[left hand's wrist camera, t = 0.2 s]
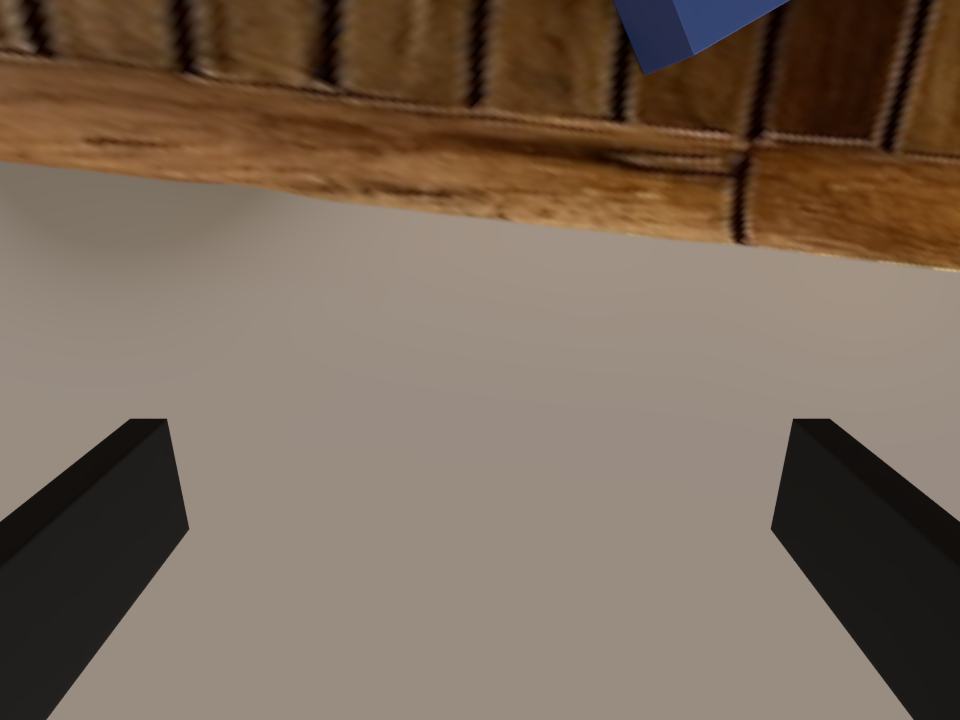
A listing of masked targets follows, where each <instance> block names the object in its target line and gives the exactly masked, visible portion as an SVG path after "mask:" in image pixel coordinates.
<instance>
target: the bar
mask: <svg viewBox="0 0 960 720" xmlns="http://www.w3.org/2000/svg"><path fill="white" fill-rule="evenodd" d="M613 1H614V3H615V6H616V8H617V11H618V13H619V15H620V18H621V20H622V23H623V25H624V27H625V30H626V32H627V35H628V37H629V39H630V42H631V44H632V47H633V49H634V51H635V54H636V56H637V59H638V61H639V63H640V66H641V68H642V71H643V73H644V75H648V74H650V73H653V72H655V71H657V70H660V69H662V68H665V67H667V66H670V65H672V64H674V63H677V62H679V61H682V60H684V59H687V58H689V57H691V56H694V55H696V54H698V53H699V52H701V51H703V50H705V49H706V48H708V47H710V46H711V45H713V44H715V43H717V42H718V41H720V40H722V39H724V38H725V37H727V36H729V35H730V34H732V33H734V32H736V31H737V30H739V29H741V28H743V27H744V26H746V25H748V24H749V23H751V22H753V21H755V20H756V19H758V18H760V17H761V16H763V15H765V14H767V13H768V12H770V11H772V10H774V9H775V8H777V7H779V6H780V5H782V4H784V3H786V2H787V1H789V0H613Z"/></svg>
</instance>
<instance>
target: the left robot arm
mask: <svg viewBox="0 0 960 720" xmlns="http://www.w3.org/2000/svg"><path fill="white" fill-rule="evenodd" d="M188 530H189V526H188V521H187V516H186V511H185V506H184V501H183V496H182V491H181V486H180V481H179V476H178V471H177V466H176V461H175V456H174V451H173V446H172V441H171V437H170V432H169V427H168V422H167V419H129V420H128V421H127V422H126V423H124V424H123V425H122V426H121V427H119V428H118V429H117V430H116V431H114V432H113V433H112V434H110V435H109V436H108V437H107V438H105V439H104V440H103V441H102V442H100V443H99V444H98V445H97V446H95V447H94V448H93V449H92V450H90V451H89V452H88V453H87V454H85V455H84V456H83V457H82V458H80V459H79V460H78V461H76V462H75V463H74V464H73V465H71V466H70V467H69V468H68V469H66V470H65V471H64V472H63V473H61V474H60V475H59V476H58V477H56V478H55V479H54V480H52V481H51V482H50V483H49V484H47V485H46V486H45V487H44V488H42V489H41V490H40V491H39V492H37V493H36V494H35V495H34V496H32V497H31V498H30V499H29V500H27V501H26V502H25V503H24V504H22V505H21V506H20V507H18V508H17V509H16V510H15V511H13V512H12V513H11V514H10V515H8V516H7V517H6V518H5V519H3V520H2V521H1V522H0V720H46V719H47V718H48V717H49V715H50V714H51V713H52V711H53V710H54V709H55V707H56V706H57V705H58V703H59V702H60V701H61V699H62V698H63V697H64V695H65V694H66V693H67V691H68V690H69V689H70V687H71V686H72V685H73V683H74V682H75V681H76V679H77V678H78V677H79V675H80V674H81V673H82V671H83V670H84V669H85V667H86V666H87V665H88V663H89V662H90V661H91V659H92V658H93V657H94V655H95V654H96V653H97V651H98V650H99V649H100V647H101V646H102V645H103V643H104V642H105V641H106V639H107V638H108V637H109V635H110V634H111V633H112V631H113V630H114V629H115V627H116V626H117V625H118V623H119V622H120V621H121V619H122V618H123V617H124V615H125V614H126V613H127V611H128V610H129V609H130V607H131V606H132V605H133V603H134V602H135V601H136V599H137V598H138V597H139V595H140V594H141V593H142V591H143V590H144V589H145V587H146V586H147V585H148V583H149V582H150V581H151V579H152V578H153V577H154V575H155V574H156V573H157V571H158V570H159V569H160V567H161V566H162V565H163V563H164V562H165V561H166V559H167V558H168V557H169V555H170V554H171V553H172V551H173V550H174V549H175V547H176V546H177V545H178V543H179V542H180V541H181V539H182V538H183V537H184V535H185V534H186V533H187V531H188ZM771 530H772V531H773V533H774V534H775V535H776V537H777V538H778V539H779V541H780V542H781V543H782V545H783V546H784V547H785V549H786V550H787V551H788V553H789V554H790V555H791V557H792V558H793V559H794V561H795V562H796V563H797V565H798V566H799V567H800V569H801V570H802V571H803V573H804V574H805V575H806V577H807V578H808V579H809V581H810V582H811V583H812V585H813V586H814V587H815V589H816V590H817V591H818V593H819V594H820V595H821V597H822V598H823V599H824V601H825V602H826V603H827V605H828V606H829V607H830V609H831V610H832V611H833V613H834V614H835V615H836V617H837V618H838V619H839V621H840V622H841V623H842V625H843V626H844V627H845V629H846V630H847V631H848V633H849V634H850V635H851V637H852V638H853V639H854V641H855V642H856V643H857V645H858V646H859V647H860V649H861V650H862V651H863V653H864V654H865V655H866V657H867V658H868V659H869V661H870V662H871V663H872V665H873V666H874V667H875V669H876V670H877V671H878V673H879V674H880V675H881V677H882V678H883V679H884V681H885V682H886V683H887V685H888V686H889V687H890V689H891V690H892V691H893V693H894V694H895V695H896V697H897V698H898V699H899V701H900V702H901V703H902V705H903V706H904V707H905V709H906V710H907V711H908V713H909V714H910V715H911V717H912V718H913V719H914V720H960V522H959V521H958V520H957V519H955V518H954V517H953V516H952V515H950V514H949V513H948V512H947V511H945V510H944V509H943V508H942V507H940V506H939V505H938V504H937V503H935V502H934V501H933V500H931V499H930V498H929V497H928V496H926V495H925V494H924V493H923V492H921V491H920V490H919V489H918V488H916V487H915V486H914V485H913V484H911V483H910V482H909V481H907V480H906V479H905V478H904V477H902V476H901V475H900V474H899V473H897V472H896V471H895V470H894V469H892V468H891V467H890V466H889V465H887V464H886V463H885V462H884V461H882V460H881V459H880V458H879V457H877V456H876V455H875V454H873V453H872V452H871V451H870V450H868V449H867V448H866V447H865V446H863V445H862V444H861V443H860V442H858V441H857V440H856V439H855V438H853V437H852V436H851V435H850V434H848V433H847V432H846V431H844V430H843V429H842V428H841V427H839V426H838V425H837V424H836V423H834V422H833V421H832V420H831V419H793V422H792V427H791V432H790V437H789V442H788V447H787V452H786V456H785V461H784V466H783V471H782V476H781V481H780V486H779V491H778V496H777V501H776V506H775V511H774V516H773V521H772V526H771Z"/></svg>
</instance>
